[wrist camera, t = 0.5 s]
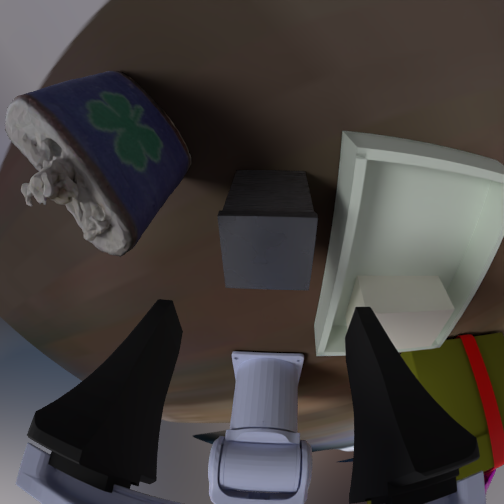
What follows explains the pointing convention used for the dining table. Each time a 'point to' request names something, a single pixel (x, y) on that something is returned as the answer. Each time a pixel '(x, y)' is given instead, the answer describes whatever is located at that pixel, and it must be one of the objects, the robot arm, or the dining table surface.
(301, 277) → the tin
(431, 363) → the gift box
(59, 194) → the flask
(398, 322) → the egg box
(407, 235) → the tote
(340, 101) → the dining table surface
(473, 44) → the dining table surface
